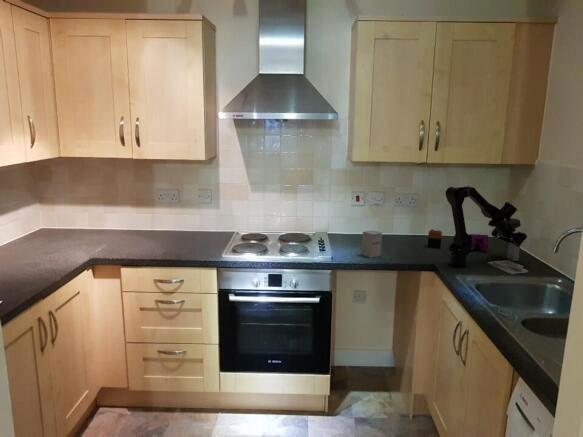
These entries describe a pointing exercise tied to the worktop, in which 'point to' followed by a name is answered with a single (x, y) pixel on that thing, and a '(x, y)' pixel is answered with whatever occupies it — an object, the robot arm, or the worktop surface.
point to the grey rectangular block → (513, 252)
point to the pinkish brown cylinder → (371, 243)
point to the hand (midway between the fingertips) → (516, 245)
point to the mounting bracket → (480, 242)
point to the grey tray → (508, 266)
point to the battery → (434, 239)
